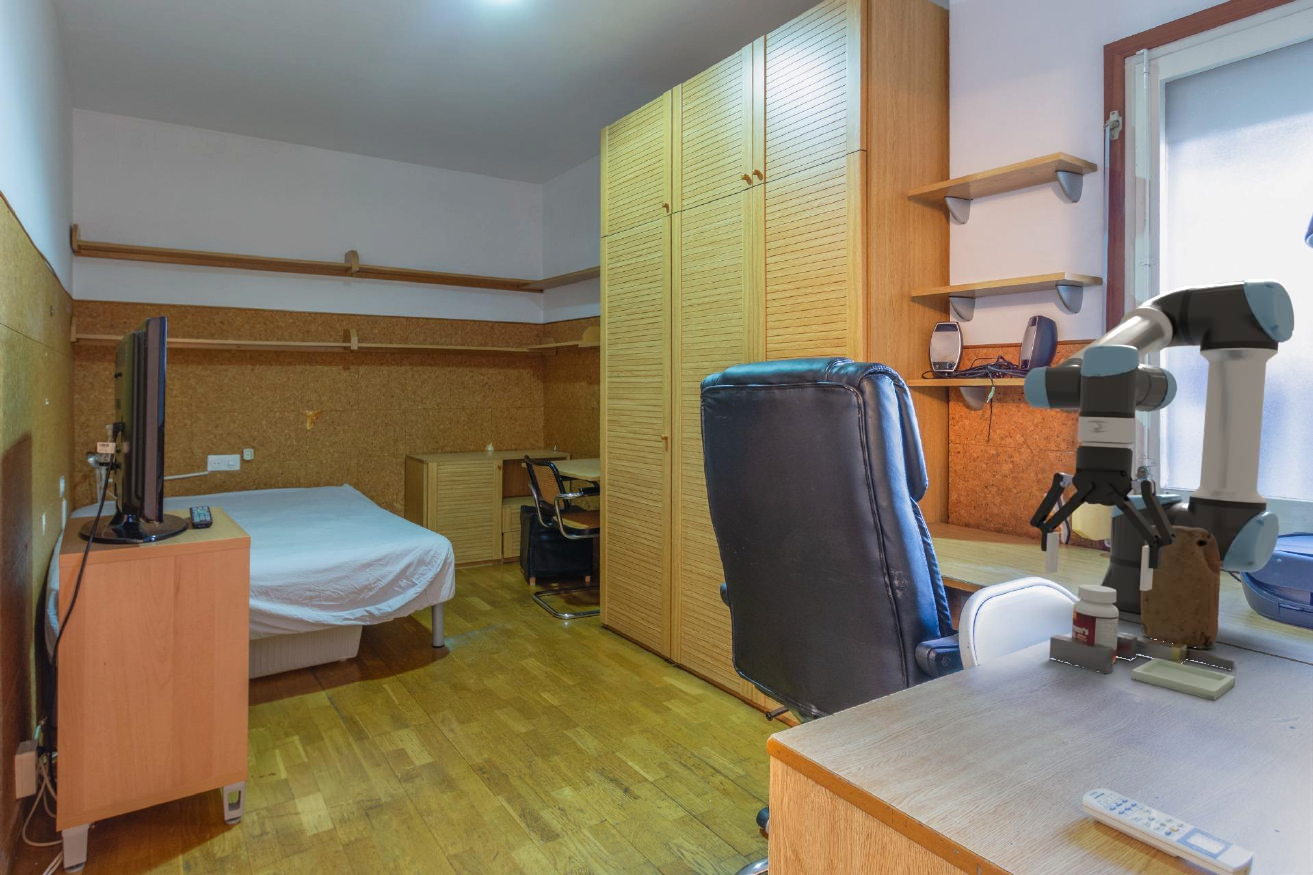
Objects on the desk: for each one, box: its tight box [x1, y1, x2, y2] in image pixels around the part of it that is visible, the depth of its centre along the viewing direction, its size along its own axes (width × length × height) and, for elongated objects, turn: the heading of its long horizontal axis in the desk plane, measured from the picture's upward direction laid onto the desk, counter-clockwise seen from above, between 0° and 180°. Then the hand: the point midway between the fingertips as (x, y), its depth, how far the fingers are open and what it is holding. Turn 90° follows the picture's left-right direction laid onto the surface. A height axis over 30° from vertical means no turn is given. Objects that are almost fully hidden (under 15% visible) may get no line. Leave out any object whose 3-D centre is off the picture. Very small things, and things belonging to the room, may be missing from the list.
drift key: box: [1121, 632, 1188, 664], centre depth 120 cm, size 3×9×3 cm, turn 40°
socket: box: [1049, 632, 1137, 674], centre depth 118 cm, size 12×8×4 cm, turn 130°
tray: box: [1131, 658, 1236, 701], centre depth 108 cm, size 10×10×1 cm
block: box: [1140, 526, 1221, 649], centre depth 128 cm, size 11×8×20 cm
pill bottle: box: [1071, 584, 1120, 664], centre depth 118 cm, size 6×6×11 cm
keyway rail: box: [1186, 648, 1236, 671], centre depth 120 cm, size 1×15×2 cm, turn 39°
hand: (1096, 580), depth 117 cm, fingers open, 13 cm apart
